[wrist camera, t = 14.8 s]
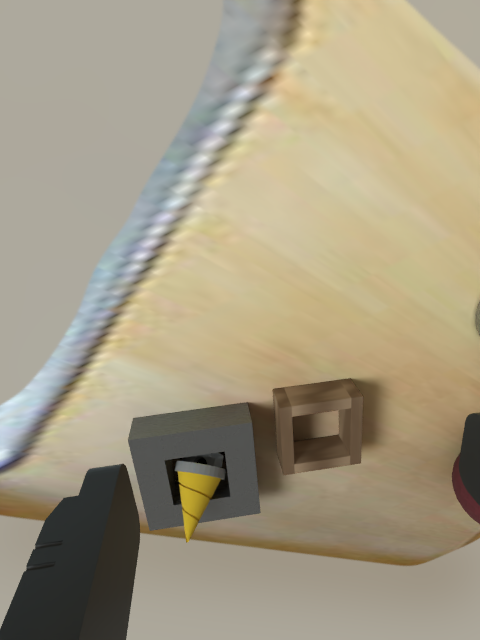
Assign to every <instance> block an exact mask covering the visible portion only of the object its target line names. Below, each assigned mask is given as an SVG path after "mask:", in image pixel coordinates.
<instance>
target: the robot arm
mask: <svg viewBox="0 0 480 640" xmlns="http://www.w3.org/2000/svg"><path fill="white" fill-rule="evenodd" d="M476 327H477V331H478V333H479V335H480V302H479V304H478V307H477V311H476ZM459 473H460V477H461V480H462V482H463V485H464V486H465V488H466V490H467V491H468V493H469V494H470V495H471V496H472V498H473V499H474V500H475V501H476V502H477V503H478V505H479V506H480V412H479V413H473V414H470V415H468V417H467V418H466V421H465V427H464V433H463V440H462V446H461V453H460V459H459ZM139 543H140V523H139V515H138V510H137V506H136V503H135V499H134V495H133V491H132V487H131V483H130V479H129V475H128V471H127V468H126V466H125V465H124V464H119V465H112V466H105V467H99V468H92V469H89V470H88V471H87V473H86V476H85V479H84V481H83V484H82V487H81V490H80V493H79V496H73V497H67V498H64V499H63V500H62V501H61V502H60V503H59V504H58V506H57V507H56V508H55V509H54V510H53V512H52V513H51V514H50V515H49V516H48V518H47V519H46V520H45V522H44V525H43V527H42V530H41V532H40V534H39V537H38V539H37V542H36V544H35V545H36V547H35V550H33V551H32V554H31V556H30V559H29V561H28V563H27V570H26V571H25V572H24V573H23V575H22V578H21V580H20V583H19V585H18V588H17V590H16V592H15V595H14V597H13V600H12V602H11V604H10V607H9V609H8V612H7V615H6V616H5V619H4V621H3V624H2V626H1V629H0V640H126V636H127V628H128V621H129V614H130V607H131V600H132V593H133V586H134V579H135V571H136V565H137V557H138V550H139Z"/></svg>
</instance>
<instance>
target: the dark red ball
mask: <svg viewBox="0 0 480 640" xmlns="http://www.w3.org/2000/svg"><path fill="white" fill-rule="evenodd" d="M459 459H460V454H459V456H458V457H457V459H456V461H455V463H454V467H453V472H452V482H453V488H454V491H455V494H456V497H457V499H458V501H459V502H460V504H461V505H462V507H463V508H464V510H465V511H466V512H467V513H468V514H469V516H470V517H471V518H473V519H474V520H475V521H476V522H478V523H479V524H480V506H479V505H478V503H477V502H476V501H475V500H474V499H473V498H472V496H471V495H470V494H469V493H468V491H467V490H466V488H465V486H464V485H463V482H462V480H461V477H460V473H459Z"/></svg>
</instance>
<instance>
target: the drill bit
mask: <svg viewBox="0 0 480 640" xmlns="http://www.w3.org/2000/svg"><path fill="white" fill-rule="evenodd" d="M201 458H205V459H206V461H207V465H205V464H200V463H197V461H198V460H199V459H201ZM222 462H223V455H221V454H220V453H218V452H217V453H211V454H204V455H197V456H190V457H184V458H183V459H182V461H176V465H175V470H174V471H175V472H178V479H179V487H180V495H181V504H182V512H183V520H184V528H185V533H186V534H185V536H186V542H188V541H189V539H190V538H191V536H192V534H193V532H194V530H195V528H196V526H197V524H198V522H199V520H200V518H201V517H202V515H203V513H204V511H205V509H206V507H207V505H208V503H209V501H210V499H211V497H212V496H213V494H214V492H215V490H216V488H217V486H218V484H219V482H220V480H225V474H226V470H225V469H223V468H219V467H222Z"/></svg>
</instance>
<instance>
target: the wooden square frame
mask: <svg viewBox="0 0 480 640" xmlns="http://www.w3.org/2000/svg"><path fill="white" fill-rule="evenodd" d="M273 401H274V416H275V431H276V446H277V455H278V458H279V461H280V465H281V468H282V472H283V475H288V474H295V473H301V472H308V471H314V470H321V469H327V468H334V467H340V466H347V465H353V464H360V463H361V446H362V418H363V395H362V394H361V393H360V391H359V390H358V389H357V387H356V386H355V384H354V383H353V382H352V380H351V379H343V380H336V381H329V382H321V383H314V384H307V385H299V386H292V387H285V388H278V389H273ZM336 410H339V435H335V436H328V437H321V438H314V439H308V440H301V441H294V442H293V425H292V417H294V416H301V415H308V414H315V413H322V412H329V411H336Z"/></svg>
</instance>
